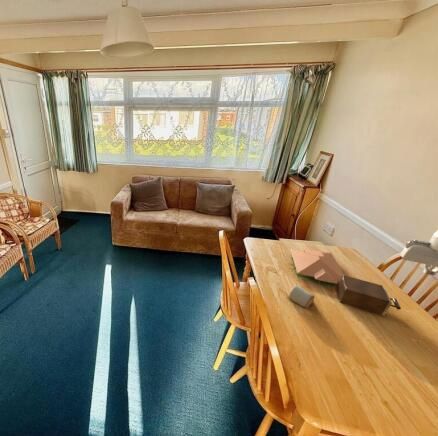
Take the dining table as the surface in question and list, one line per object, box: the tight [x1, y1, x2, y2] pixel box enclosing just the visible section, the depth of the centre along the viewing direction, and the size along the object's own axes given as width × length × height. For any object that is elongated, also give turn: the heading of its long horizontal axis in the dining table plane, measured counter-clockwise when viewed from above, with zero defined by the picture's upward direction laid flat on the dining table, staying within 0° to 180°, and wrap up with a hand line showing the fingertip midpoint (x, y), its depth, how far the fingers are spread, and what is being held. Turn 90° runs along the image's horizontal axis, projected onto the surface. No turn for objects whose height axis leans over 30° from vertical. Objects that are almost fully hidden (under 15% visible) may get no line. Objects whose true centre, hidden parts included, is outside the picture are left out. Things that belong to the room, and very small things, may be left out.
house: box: [290, 247, 345, 288], centre depth 131 cm, size 23×33×8 cm
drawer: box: [381, 287, 402, 317], centre depth 105 cm, size 18×10×8 cm, turn 58°
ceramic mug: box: [288, 284, 315, 309], centre depth 108 cm, size 11×8×8 cm
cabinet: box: [335, 274, 390, 316], centre depth 107 cm, size 15×12×10 cm
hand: (428, 273), depth 95 cm, fingers closed
